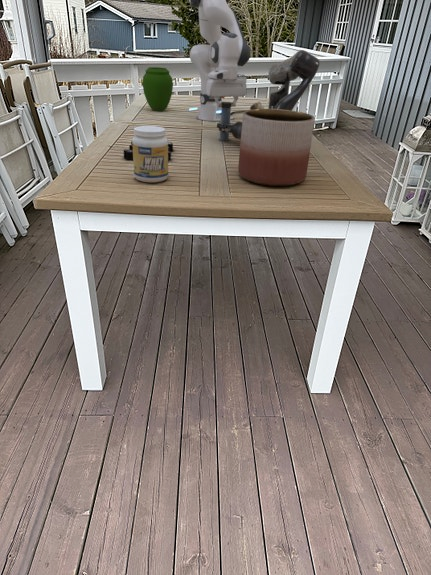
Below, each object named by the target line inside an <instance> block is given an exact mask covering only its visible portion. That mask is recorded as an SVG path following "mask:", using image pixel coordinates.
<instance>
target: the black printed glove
mask: <svg viewBox="0 0 431 575" xmlns="http://www.w3.org/2000/svg"><path fill="white" fill-rule="evenodd" d="M128 148H129V149H123V158H124V159H126V160H127V161H133V145H132V140H131V143H130V145H129V147H128ZM172 152H174V143H173V142H172V141H168V161H171V160H172Z"/></svg>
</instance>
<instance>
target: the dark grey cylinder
mask: <svg viewBox="0 0 431 575" xmlns="http://www.w3.org/2000/svg"><path fill="white" fill-rule="evenodd" d="M231 110H232V107H231V108H222V107H221V121H220V124H224V125H225V124H230V123H231V119H230V116H231V115H230V114H231V113H232V111H231ZM227 127H228V126H227ZM219 141H221V142H229V141H230V133H229V132H225V133H223V132H221V131H219Z"/></svg>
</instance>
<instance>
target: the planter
mask: <svg viewBox="0 0 431 575" xmlns="http://www.w3.org/2000/svg"><path fill="white" fill-rule="evenodd" d="M244 111H245V112H242V121H241V122H242V132H241V140H240V144H239V145H240V146H239V156H238V166H237V168H238V169H237V170H238V171H237V172H238V174H239V175H240V177H241V178H243V179H245V181H248V182H251V183H254V184H256V185H262V186H269V187H288V186H295V185H297V184H300V183H302V182H303V181H305V179H306V177H307V174H308V167H309V161H310V154H311V146H312V140H313V134H314V128H315V121H316V116H314V115H312V114H310V113H306V112H302V111H297V110H292V111H291V110H282V109H268V108H264V109H252V110H250V109H247V110H244Z"/></svg>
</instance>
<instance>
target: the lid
mask: <svg viewBox="0 0 431 575" xmlns="http://www.w3.org/2000/svg"><path fill="white" fill-rule="evenodd" d="M231 102H232V101H222V102H221V107H222V108H231V109H232V106H231Z"/></svg>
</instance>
